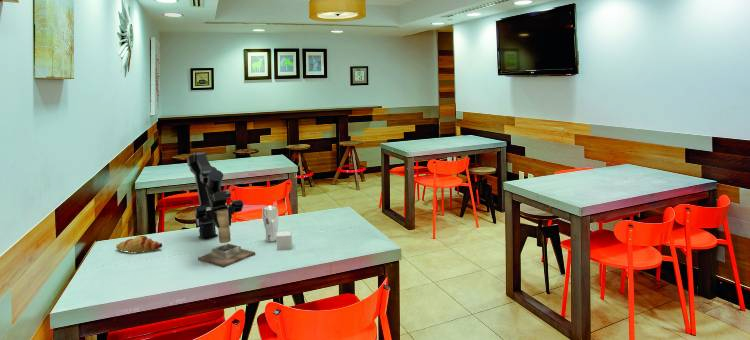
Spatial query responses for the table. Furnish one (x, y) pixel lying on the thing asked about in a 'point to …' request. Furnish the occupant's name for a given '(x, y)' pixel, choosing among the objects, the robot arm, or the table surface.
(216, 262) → the cup bracket
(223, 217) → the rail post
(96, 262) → the table surface
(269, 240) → the beer glass
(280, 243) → the light grey cube
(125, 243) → the croissant
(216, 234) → the robot arm
